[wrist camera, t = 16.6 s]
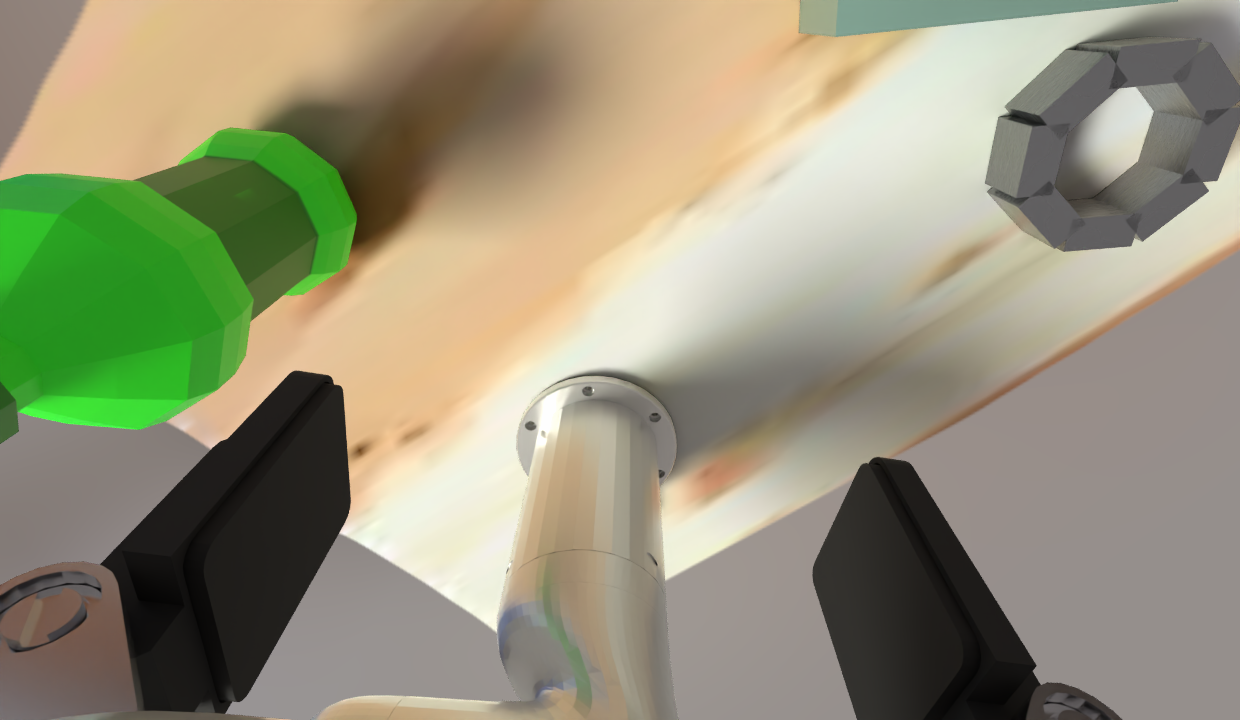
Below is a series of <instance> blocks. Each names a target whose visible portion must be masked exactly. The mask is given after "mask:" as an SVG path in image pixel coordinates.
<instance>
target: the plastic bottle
mask: <svg viewBox="0 0 1240 720" xmlns="http://www.w3.org/2000/svg"><path fill="white" fill-rule="evenodd" d="M356 222H357V213H356V211H355V209H354V207H353V204H352V202H351V200H350V198H349V195H348V193H347V191H346V188H345V186H344V184H343V182H342V179H341V177H340V175H339V173H338V170H337V169H336V168H334V167H333V166H332V165H330V164H329V163H328V162H326V161H325V160H324V159H323V158H321V157H320V156H319V155H317V154H316V153H315V152H313V151H312V150H311V149H309V148H308V147H307V146H305V145H304V144H303V143H301V142H300V141H299V140H297V139H296V138H295V137H293V136H291V135H289V134H286V133H279V132H269V131H259V130H249V129H240V128H228V129H224V130H220V131H218V132H217V133H215V134H214V135H213V136H211V137H210V138H209V139H208V140H206V141H205V142H204V143H202V144H201V145H200V146H199V147H197V148H196V149H195V150H193V151H192V152H191V153H190V154H188V155H187V156H186V157H184V158H183V159H182V160H181V161H180V163H179V164H178V166H175V167H172V168H169V169H166V170H163V171H160V172H157V173H154V174H151V175H148V176H145V177H142V178H139V179H136V180H133V181H131V180H121V179H111V178H101V177H91V176H80V175H70V174H25V175H21V176H18V177H14V178H10V179H6V180H2V181H0V444H1V443H2V442H4V441H5V440H7V439H8V438H10V437H11V436H13V435H14V434H16V433H17V432H18V431H19V430H18V417H17V412H21V413H24V414H27V415H30V416H34V417H38V418H43V419H48V420H53V421H57V422H62V423H67V424H78V425H90V426H102V427H114V428H126V429H137V430H140V429H143V428H146V427H149V426H152V425H156V424H159V423H162V422H165V421H167V420H169V419H171V418H172V417H174V416H175V415H177V414H179V413H180V412H182V411H184V410H185V409H187V408H189V407H190V406H192V405H193V404H195V403H197V402H198V401H200V400H202V399H203V398H205V397H206V396H208V395H210V394H211V393H213V392H215V391H216V390H218V389H219V388H220V387H221V386H222V385H223V384H224V383H225V382H227V381H228V380H229V379H230V378H231V377H232V376H233V375H234V374H235V373H236V371H237V370H238V368H239V366H240V364H241V363H242V361H243V359H244V357H245V356H246V350H247V342H248V335H249V328H250V321H252V320H253V319H254V318H255V317H257V316H258V315H259V314H260V313H262V312H263V311H264V310H265V309H267V308H268V307H269V306H270V305H272V304H273V303H274V302H275V301H277V300H278V299H279V298H280V297H282V296H283V295H290V296H292V295H302V294H305V293H306V292H308V291H309V290H311V289H312V288H314V287H316V286H317V285H319V284H320V283H322V282H323V281H325V280H326V279H328V278H330V277H331V276H333V275H334V274H336V273H337V272H339V271H340V270H341V269H343V268H344V267H345V266H346V265H347V263H348V259H349V254H350V249H351V245H352V240H353V236H354V231H355V227H356Z"/></svg>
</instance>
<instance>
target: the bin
mask: <svg viewBox="0 0 1240 720" xmlns="http://www.w3.org/2000/svg"><path fill="white" fill-rule="evenodd" d="M1177 1H1178V0H800V18H799V33H804V34H813V35H822V36H832V37H839V36H849V35H859V34H868V33H878V32H888V31H897V30H907V29H917V28H926V27H936V26H945V25H955V24H965V23H974V22H984V21H994V20H1003V19H1013V18H1023V17H1032V16H1042V15H1052V14H1061V13H1071V12H1081V11H1090V10H1100V9H1109V8H1119V7H1129V6H1138V5H1148V4H1158V3H1167V2H1177Z"/></svg>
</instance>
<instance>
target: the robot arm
mask: <svg viewBox="0 0 1240 720" xmlns="http://www.w3.org/2000/svg"><path fill="white" fill-rule="evenodd" d="M587 386H588V387H587ZM516 449H517V454H518V458H519V462H520V464H521V466H522V468H523V470H524V472H525V473H526V475H527V476H528V481H527V485H526V490H525V494H524V499H523V503H522V507H521V512H520V516H519V521H518V525H517V529H516V534H515V538H514V543H513V547H512V552H511V556H510V560H509V565H508V569H507V574H506V579H505V583H504V588H503V592H502V596H501V601H500V606H499V611H498V617H497V642H498V647H499V653H500V657H501V660H502V664H503V666H504V669H505V671H506V674H507V676H508V679H509V681H510V683H511V685H512V687H513V689H514V691H515V693H516V695H517V697H518V698H519V700H520V701H501V702H490V701H477V700H460V699H447V698H432V697H431V698H430V697H417V696H416V697H415V696H390V695H387V696H359V697H354V698H349V699H345V700H342V701H339V702H337V703H334V704H332V705H330V706H329V707H327V708H325V709H323V710H322V711H320V712H319V713H318V714H316V715H315V716H314V717H313V718H312V719H311V720H679V719H678V714H677V708H676V702H675V696H674V687H673V679H672V671H671V661H670V650H669V639H668V623H667V609H666V608H667V607H666V588H665V571H664V554H663V537H662V521H661V504H660V486H661V485H662V483H663V482H664V481H665V480H666V479H667V477H668V475H669V474H670V472H671V470H672V469H673V466H674V462H675V459H676V452H677V440H676V432H675V429H674V425H673V422H672V419H671V418H670V416H669V414H668V412H667V411H666V409H665V408H664V407H663V405H662V404H661V403H660V402H659V401H658V400H657V399H656V398H655V397H654V396H652V395H651V394H650V393H648V392H647V391H646V390H644V389H643V388H641V387H639V386H637V385H635V384H633V383H631V382H627V381H624V380H621V379H617V378H612V377H605V376H583V377H578V378H572V379H568V380H565V381H563V382H560V383H557V384H555V385H553V386H551V387H550V388H548V389H546V390H545V391H543V392H542V393H540V394H539V395H538V396H537V397H536V398H535V399H534V400H533V401H532V402H531V403H530V405H529V406H528V408H527V409H526V411H525V412H524V414H523V417H522V419H521V422H520V424H519V429H518V433H517V443H516ZM350 504H351V497H350V483H349V468H348V454H347V440H346V425H345V411H344V397H343V389H342V387H341V386H339V385H334V383H333V380H332V378H331V377H330V376H329V375H323V374H316V373H309V372H303V371H293V372H291V373H290V374H289V375H288V376H287V377H286V378H285V379H284V380H283V381H282V382H281V383H280V384H279V385H278V386H277V388H276V389H275V390H274V391H273V392H272V393H271V394H270V395H269V396H268V397H267V398H266V399H265V400H264V401H263V402H262V403H261V404H260V405H259V406H258V407H257V409H256V410H255V411H254V412H253V413H252V414H251V415H250V416H249V417H248V418H247V419H246V420H245V421H244V422H243V423H242V424H241V425H240V426H239V427H238V428H237V430H236V431H235V432H234V433H233V434H232V435H231V436H230V437H229V438H228V439H226V440H223V441H221V442H219V443H218V444H217V445H215V446H214V447H213V448H212V449H211V450H210V451H209V452H208V453H207V454H206V455H205V456H204V457H203V458H202V459H201V460H200V462H199V463H198V464H197V465H196V466H195V467H194V468H193V469H192V470H191V471H190V472H189V473H188V474H187V475H186V476H185V477H184V478H183V480H181V481H180V482H179V483H178V484H177V485H176V486H175V487H174V489H173V490H172V491H171V492H170V493H169V494H168V495H167V496H166V497H165V498H164V499H163V500H162V501H161V502H160V503H159V504H158V505H157V506H156V507H155V508H154V509H153V510H152V511H151V512H150V513H149V514H148V515H147V516H146V518H144V519H143V521H142V522H141V523H140V524H139V525H138V526H137V527H136V528H135V529H134V530H133V531H132V532H131V533H130V534H129V535H128V536H127V537H126V538H125V539H124V540H123V541H122V542H121V543H120V544H119V545H118V546H117V547H116V549H114V550H113V552H112V553H111V554H110V555H109V556H108V557H107V558H106V559H105V560H104V561H103V562H102V563H101V564H100V565H99V564H94V563H89V562H84V561H82V562H62V563H57V564H53V565H48V566H44V567H39V568H37V569H34V570H31V571H29V572H26V573H24V574H21V575H18V576H16V577H14V578H12V579H10V580H8V581H7V582H5V583H3V584H1V585H0V720H289V719H277V718H266V717H265V718H264V717H254V716H243V715H230V714H225V713H226V711H227V710H228V708H229V706H230V704H231V703H232V701H234V702H240V701H242V700H243V699H244V698H245V697H246V696H247V695H248V693H249V691H250V690H251V688H252V686H253V685H254V683H255V681H256V679H257V677H258V676H259V674H260V672H261V670H262V669H263V667H264V665H265V663H266V662H267V660H268V658H269V656H270V654H271V653H272V651H273V649H274V647H275V646H276V644H277V642H278V640H279V638H280V637H281V635H282V633H283V631H284V630H285V628H286V626H287V624H288V623H289V621H290V619H291V617H292V615H293V614H294V612H295V610H296V608H297V607H298V605H299V603H300V601H301V599H302V598H303V596H304V594H305V592H306V591H307V589H308V587H309V585H310V583H311V581H312V580H313V578H314V576H315V575H316V573H317V571H318V569H319V568H320V566H321V564H322V562H323V560H324V559H325V557H326V555H327V553H328V552H329V550H330V548H331V546H332V545H333V543H334V541H335V539H336V537H337V536H338V534H339V532H340V530H341V529H342V527H343V525H344V523H345V521H346V519H347V517H348V514H349V510H350ZM813 583H814V586H815V590H816V593H817V596H818V599H819V601H820V605H821V608H822V611H823V615H824V617H825V621H826V624H827V627H828V630H829V633H830V636H831V639H832V643H833V645H834V649H835V652H836V655H837V658H838V661H839V664H840V667H841V671H842V674H843V677H844V680H845V683H846V686H847V689H848V692H849V696H850V698H851V702H852V705H853V708H854V711H855V714H856V718H857V720H1122V719H1121V718H1120V717H1119V716H1118V715H1117V714H1116V713H1115V712H1114V711H1113V710H1111V709H1110V708H1109V707H1107V706H1106V705H1105V704H1103V703H1102V702H1101V701H1099V700H1098V699H1096V698H1095V697H1093V696H1091V695H1089V694H1087V693H1085V692H1084V691H1082V690H1080V689H1078V688H1075V687H1072V686H1069V685H1065V684H1062V683H1048V682H1047V683H1045V684H1042V685H1040V683H1039V682H1038V680H1037V678H1036V676H1035V675H1034V673H1033V670H1034V669H1035V667H1036V664H1035V662H1034V661H1033V659H1032V657H1031V656H1030V655H1029V653H1028V651H1027V649H1026V648H1025V646H1024V645H1023V643H1022V641H1021V640H1020V638H1019V637H1018V635H1017V634H1016V632H1015V631H1014V629H1013V627H1012V625H1011V624H1010V622H1009V621H1008V619H1007V618H1006V616H1005V614H1004V612H1003V611H1002V610H1001V608H1000V606H999V605H998V603H997V601H996V600H995V598H994V597H993V595H992V593H991V592H990V590H989V588H988V587H987V585H986V584H985V582H984V580H983V579H982V577H981V576H980V574H979V572H978V571H977V569H976V568H975V566H974V564H973V563H972V561H971V559H970V558H969V556H968V555H967V553H966V551H965V550H964V548H963V547H962V545H961V544H960V542H959V540H958V539H957V537H956V536H955V534H954V532H953V531H952V529H951V527H950V526H949V524H948V523H947V521H946V520H945V518H944V516H943V515H942V513H941V511H940V510H939V508H938V506H937V505H936V503H935V502H934V500H933V499H932V497H931V495H930V494H929V492H928V491H927V489H926V487H925V486H924V484H923V482H922V481H921V479H920V478H919V476H918V474H917V473H916V471H915V470H914V468H913V466H912V465H911V464H910V463H908V462H906V461H901V460H894V459H888V458H881V457H875V458H873V459H872V460H871V461H870V462H869V464H868V463H865V464H862V465H861V466H860V468H859V470H858V472H857V474H856V476H855V478H854V480H853V482H852V484H851V487H850V489H849V491H848V493H847V495H846V497H845V499H844V501H843V503H842V506H841V508H840V510H839V512H838V514H837V516H836V518H835V521H834V522H833V525H832V527H831V529H830V531H829V533H828V536H827V537H826V539H825V542H824V544H823V546H822V548H821V550H820V553H819V554H818V557H817V559H816V561H815V563H814V566H813Z"/></svg>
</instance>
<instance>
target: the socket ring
mask: <svg viewBox="0 0 1240 720" xmlns="http://www.w3.org/2000/svg"><path fill="white" fill-rule="evenodd" d="M1200 41H1201V39H1195V38H1171V37H1141V38H1131V39H1121V40H1111V41H1101V42H1091V43H1081V44H1077V47H1076V50H1065V51H1064V52H1063V53H1062V54H1060V55H1059V56H1058V57H1057V58H1056V59H1055V60H1054V61H1053V62H1052V63H1051V64H1050V65H1049V66H1048V67H1047V68H1045V69H1044V70H1043V71H1042V72H1041V73H1040V74H1039V75H1038V76H1037V77H1036V78H1035V79H1034V80H1033V81H1032V82H1030V83H1029V84H1028V85H1027V86H1026V87H1025V88H1024V89H1023V90H1022V91H1021V92H1020V93H1019V94H1018V95H1017V96H1015V97H1014V98H1013V99H1012V100H1011V101H1010V102H1009V103H1008V104H1007V105H1006V106H1005V108H1006V109H1007V110H1008V111H1009V113H1010V114H1011V115H1012V116H1006V117H998V122H997V127H996V132H995V137H994V141H993V146H992V151H991V156H990V161H989V166H988V171H987V176H986V181H985V184H987V185H989V186H992V188H991V189H990V190H989V191H988V192H987V193H988V194H989V195H990V196H991V197H992V198H993V199H994V200H995V201H996V202H997V204H998V205H999V206H1000V207H1001V208H1002V209H1003V210H1004V211H1005V212H1006V214H1007V215H1008V216H1009V217H1010V218H1011V219H1012V220H1013V221H1014V222H1015V223H1016V225H1017V226H1018V227H1019V228H1020V229H1021V230H1022V231H1024V232H1025V233H1027V234H1029V235H1031V236H1033V237H1034V238H1036V239H1038V240H1040V241H1042V242H1043V243H1045V244H1047V245H1049V246H1051V247H1053V248H1054V249H1055V248H1058V249H1060V250H1061V251H1063V252H1065V251H1078V250H1090V249H1103V248H1115V247H1127V246H1132V243H1133V240H1134V238H1135V239H1138V240H1140V241H1142V242H1143V241H1144V240H1145V239H1147V238H1148V237H1149V236H1150V235H1152V234H1153V233H1154V232H1156V231H1157V230H1158V229H1160V228H1161V227H1162V226H1164V225H1165V224H1166V223H1168V222H1169V221H1170V220H1172V219H1173V218H1174V217H1176V216H1177V215H1178V214H1180V213H1181V212H1182V211H1183V210H1185V209H1186V208H1187V207H1189V206H1190V205H1191V204H1193V203H1194V202H1195V201H1197V200H1198V199H1199V198H1201V197H1202V196H1203V195H1205V194H1206V193H1207V192H1209V190H1208V189H1207V187H1206V186H1205V185H1204V183H1203V182H1208V181H1217V180H1218V178H1219V175H1220V173H1221V170H1222V167H1223V165H1224V162H1225V160H1226V157H1227V155H1228V152H1229V149H1230V147H1231V144H1232V142H1233V139H1234V137H1235V134H1236V131H1237V129H1238V126H1239V124H1240V106H1238V105H1235V104H1236V103H1238V102H1239V101H1240V86H1239V85H1238V83H1237V82H1236V80H1235V79H1234V77H1233V75H1232V74H1231V72H1230V71H1229V69H1228V68H1227V66H1226V65H1225V63H1224V62H1223V60H1222V59H1221V57H1220V56H1219V54H1218V53H1217V51H1216V49H1215V48H1214V46H1213V45H1212V43H1206V42H1200ZM1127 87H1137V88H1138V90H1139V91H1140V92H1141V94H1142V95H1143V97H1144V98H1145V99H1146V101H1147V102H1148V103H1149V105H1150V106H1151V108H1152V109H1153V110H1154V114H1153V117H1152V120H1151V123H1150V126H1149V129H1148V132H1147V136H1146V139H1145V142H1144V145H1143V148H1142V151H1141V154H1140V157H1139V161H1138V162H1137V163H1136V164H1135V165H1134V166H1132V167H1131V168H1130V169H1129V170H1127V171H1126V172H1125V173H1124V174H1123V175H1121V176H1120V177H1119V178H1118V179H1116V180H1115V181H1114V182H1113V183H1111V184H1110V185H1109V186H1108V187H1107V188H1105V189H1104V190H1103V191H1102V192H1100V193H1099V194H1098V195H1097V196H1095V197H1094V198H1089V199H1078V200H1065V198H1064V197H1063V196H1062V195H1061V194H1060V192H1059V191H1058V190H1057V189H1056V188H1055V187H1054V185H1055V181H1056V177H1057V173H1058V170H1059V166H1060V162H1061V158H1062V154H1063V150H1064V146H1065V143H1066V139H1067V135H1068V132H1069V131H1071V130H1072V129H1073V128H1074V127H1075V126H1076V125H1078V124H1079V123H1080V122H1081V121H1082V120H1083V119H1084V118H1086V117H1087V116H1088V115H1089V114H1090V113H1091V112H1092V111H1094V110H1095V109H1096V108H1097V107H1098V106H1099V105H1100V104H1102V103H1103V102H1104V101H1105V100H1106V99H1107V98H1108V97H1110V96H1111V95H1112V94H1113V93H1114V92H1115V91H1116V90H1118V89H1119V88H1127Z"/></svg>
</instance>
